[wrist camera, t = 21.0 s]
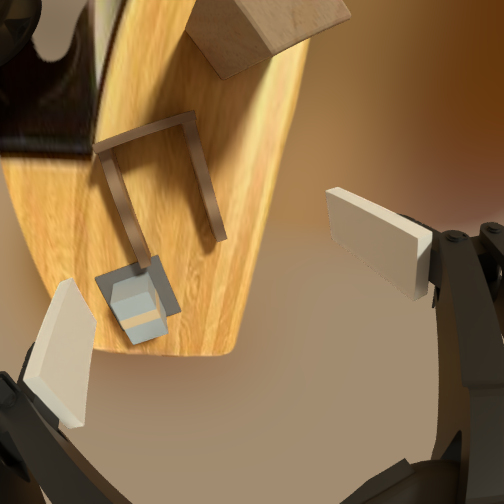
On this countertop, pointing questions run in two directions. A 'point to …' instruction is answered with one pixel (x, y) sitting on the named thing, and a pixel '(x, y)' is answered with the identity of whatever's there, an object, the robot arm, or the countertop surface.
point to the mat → (134, 269)
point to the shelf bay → (120, 190)
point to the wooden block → (257, 28)
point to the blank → (139, 308)
